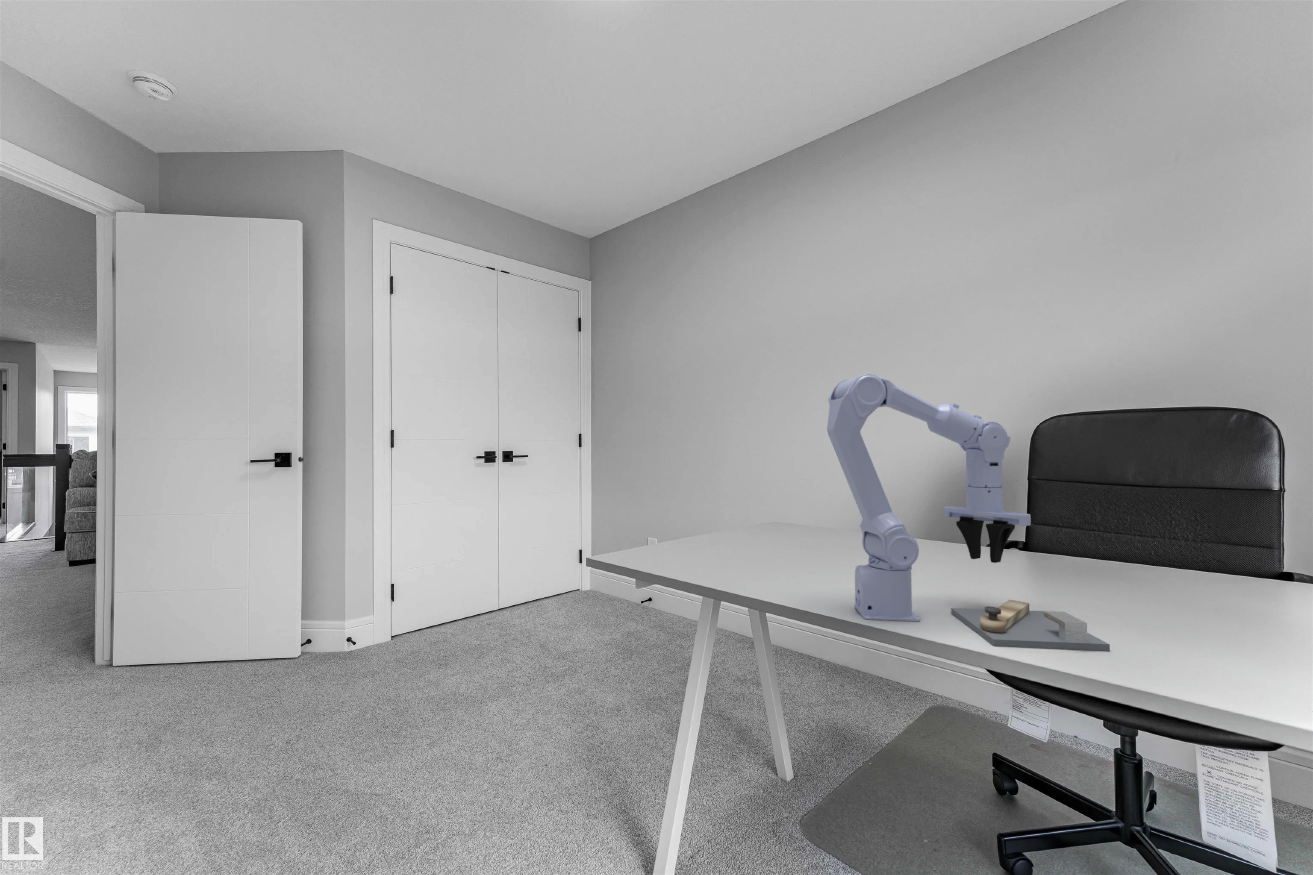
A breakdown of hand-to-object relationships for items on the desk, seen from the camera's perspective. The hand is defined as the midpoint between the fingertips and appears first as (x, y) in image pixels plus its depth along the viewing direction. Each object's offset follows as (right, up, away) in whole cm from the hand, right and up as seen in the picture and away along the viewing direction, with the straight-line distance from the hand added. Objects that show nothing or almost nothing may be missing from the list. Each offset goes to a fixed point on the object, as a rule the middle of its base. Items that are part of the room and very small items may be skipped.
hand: (985, 560), depth 98 cm
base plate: (0, -9, -10) cm, 14 cm away
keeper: (+2, -8, -16) cm, 18 cm away
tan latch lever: (-2, -8, -9) cm, 12 cm away
